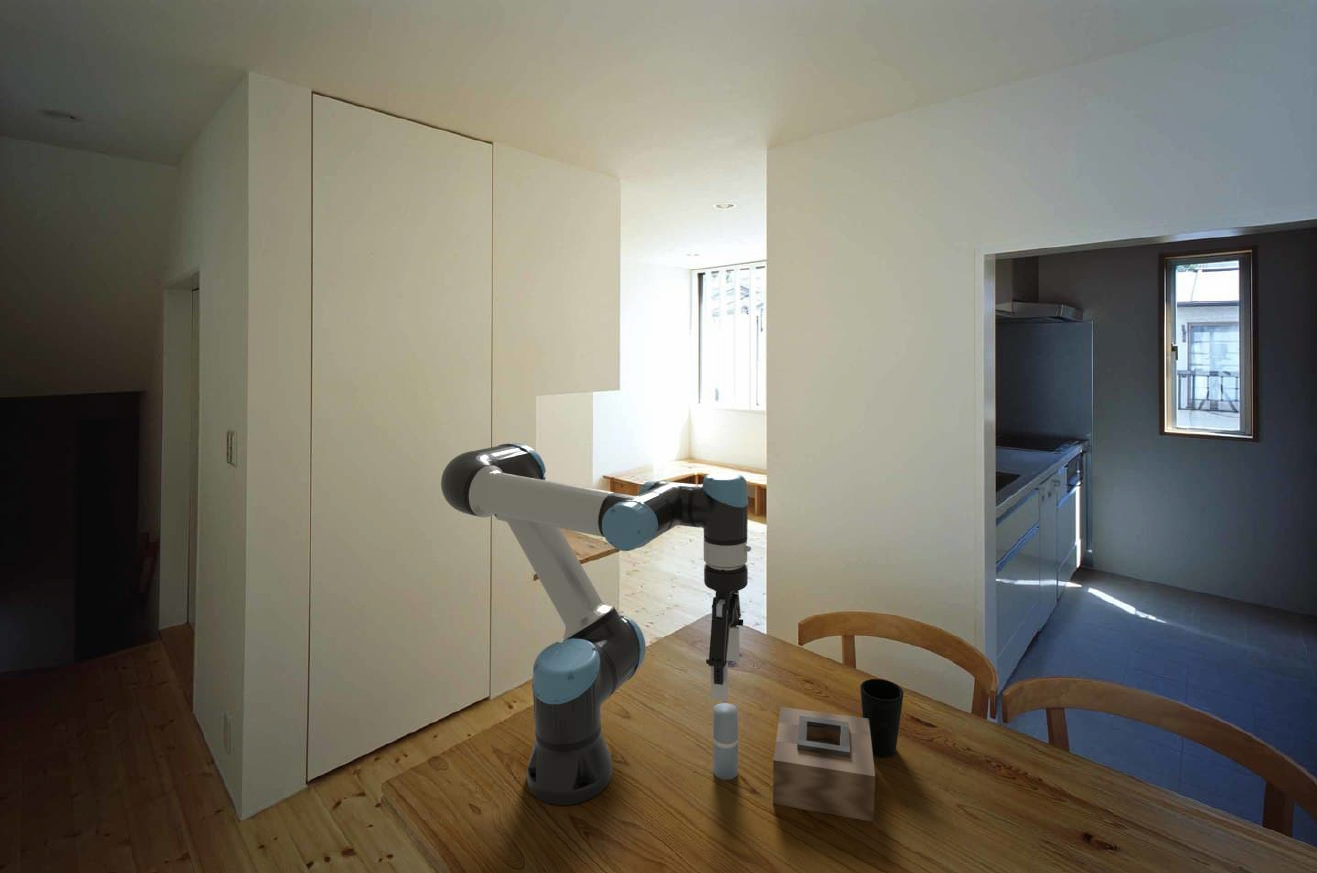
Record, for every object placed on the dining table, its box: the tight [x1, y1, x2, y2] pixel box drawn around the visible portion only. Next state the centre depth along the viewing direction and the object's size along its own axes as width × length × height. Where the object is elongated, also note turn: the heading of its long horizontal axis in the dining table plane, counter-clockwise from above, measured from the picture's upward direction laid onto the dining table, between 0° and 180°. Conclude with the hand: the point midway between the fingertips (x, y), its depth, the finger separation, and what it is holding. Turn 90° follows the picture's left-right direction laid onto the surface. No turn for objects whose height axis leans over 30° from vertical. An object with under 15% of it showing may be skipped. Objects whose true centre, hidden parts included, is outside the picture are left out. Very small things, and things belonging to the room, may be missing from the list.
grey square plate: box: [810, 739, 837, 745], centre depth 107 cm, size 5×5×1 cm
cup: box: [859, 678, 905, 758], centre depth 115 cm, size 8×8×12 cm
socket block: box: [772, 706, 876, 823], centre depth 107 cm, size 16×16×9 cm
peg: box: [712, 702, 739, 781], centre depth 110 cm, size 4×4×12 cm
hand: (726, 678), depth 108 cm, fingers open, 13 cm apart
